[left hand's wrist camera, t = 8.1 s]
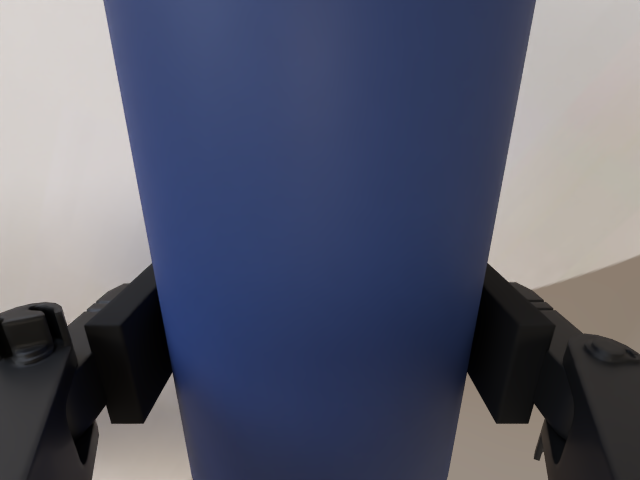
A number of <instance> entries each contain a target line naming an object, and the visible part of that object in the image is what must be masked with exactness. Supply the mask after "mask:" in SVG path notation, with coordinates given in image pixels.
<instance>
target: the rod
mask: <svg viewBox="0 0 640 480" xmlns="http://www.w3.org/2000/svg"><path fill="white" fill-rule="evenodd" d="M535 2H536V0H104V6H105V11H106V16H107V22H108V27H109V33H110V38H111V43H112V49H113V54H114V59H115V65H116V70H117V76H118V81H119V86H120V92H121V97H122V103H123V108H124V113H125V119H126V124H127V129H128V135H129V140H130V146H131V151H132V156H133V162H134V167H135V172H136V178H137V183H138V189H139V194H140V199H141V205H142V210H143V216H144V221H145V226H146V232H147V237H148V242H149V248H150V253H151V259H152V264H153V269H154V275H155V280H156V286H157V291H158V296H159V302H160V307H161V312H162V318H163V323H164V329H165V334H166V339H167V345H168V350H169V355H170V361H171V366H172V372H173V377H174V382H175V388H176V393H177V399H178V404H179V409H180V415H181V420H182V425H183V431H184V436H185V442H186V447H187V452H188V458H189V463H190V468H191V474H192V478H193V480H447V477H448V472H449V467H450V461H451V456H452V450H453V445H454V439H455V434H456V429H457V423H458V418H459V413H460V407H461V402H462V396H463V391H464V386H465V380H466V375H467V369H468V364H469V359H470V353H471V348H472V342H473V337H474V332H475V326H476V321H477V315H478V310H479V305H480V299H481V294H482V288H483V283H484V278H485V272H486V267H487V261H488V256H489V251H490V245H491V240H492V234H493V229H494V224H495V218H496V213H497V208H498V202H499V197H500V191H501V186H502V181H503V175H504V170H505V164H506V159H507V154H508V148H509V143H510V137H511V132H512V127H513V121H514V116H515V110H516V105H517V100H518V94H519V89H520V83H521V78H522V73H523V67H524V62H525V56H526V51H527V46H528V40H529V35H530V29H531V24H532V19H533V13H534V8H535Z"/></svg>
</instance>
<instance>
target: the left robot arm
mask: <svg viewBox="0 0 640 480" xmlns="http://www.w3.org/2000/svg"><path fill="white" fill-rule="evenodd" d="M467 372H468V374H469V376H470V378H471V379H472V381H473V383H474V385H475V387H476V388H477V390H478V392H479V394H480V396H481V397H482V399H483V401H484V403H485V404H486V406H487V408H488V410H489V412H490V413H491V415H492V417H493V419H494V420H495V422H496V423H497V424H528V423H529V419H530V416H531V412H532V409H533V405H534V404H535V405H536V407H537V408H538V409H539V411H540V412H541V414H542V415H543V416H544V418H545V420H544V423H543V426H542V430H541V433H540V436H539V440H538V443H537V446H536V450H535V454H534V459H536V460H540V457H541V454H542V452H544V455H545V462H546V468H547V474H548V480H640V354H639V353H637V352H636V351H634V350H633V349H631V348H629V347H628V346H626V345H624V344H622V343H619V342H617V341H615V340H613V339H609V338H606V337H602V336H599V335H592V334H583V333H582V332H581V331H579V330H578V329H577V328H576V327H575V326H574V325H572V324H571V323H570V322H569V321H568V320H566V319H565V318H564V317H563V316H562V315H561V314H559V313H558V312H557V311H556V310H553V308H552V307H551V306H550V305H549V304H548V303H546V302H544V300H543V299H542V298H540V297H539V296H538V295H537V294H536V293H535V292H533V291H532V290H530V289H528V288H526V287H524V286H522V285H520V284H518V283H516V282H508V281H507V280H505V279H504V278H503V277H502V276H501V275H500V274H499V273H498V272H497V271H496V270H494V269H493V268H492V267H491V266H490V265H489V264H488V263H487V267H486V272H485V278H484V283H483V288H482V294H481V299H480V305H479V310H478V315H477V321H476V326H475V332H474V337H473V342H472V348H471V353H470V359H469V364H468V369H467ZM171 374H172V366H171V361H170V355H169V350H168V345H167V339H166V334H165V329H164V323H163V318H162V312H161V307H160V302H159V296H158V291H157V286H156V280H155V275H154V269H153V264H151V265H150V266H149V267H147V268H146V269H145V270H144V271H143V272H142V273H141V274H140V275H139V276H138V277H136V278H135V279H134V280H133V281H132V282H131V283H130V284H122V285H120V286H118V287H116V288H114V289H112V290H110V291H108V292H107V293H106V294H105V295H103V296H102V297H101V298H100V299H99V300H98V301H96V303H94V304H93V305H92V306H91V307H89V308H88V309H87V312H84V313H82V314H81V315H80V316H79V317H78V318H76V319H75V320H74V321H73V322H72V323H71V324H69V325H68V326H67V323H66V320H65V317H64V313H63V310H62V307H61V306H60V305H58V304H56V303H49V302H43V303H33V304H28V305H24V306H20V307H16V308H13V309H11V310H8V311H5V312H3V313H0V480H92V475H93V469H94V463H95V456H96V450H97V444H98V438H99V432H98V426H97V423H96V420H95V419H96V418H97V417H98V415H99V414H100V412H101V411H102V410H103V408H104V407H105V406H107V410H108V413H109V417H110V420H111V424H144V422H145V420H146V418H147V416H148V415H149V413H150V411H151V409H152V408H153V406H154V404H155V402H156V400H157V399H158V397H159V395H160V393H161V392H162V390H163V388H164V386H165V384H166V383H167V381H168V379H169V377H170V376H171Z"/></svg>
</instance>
